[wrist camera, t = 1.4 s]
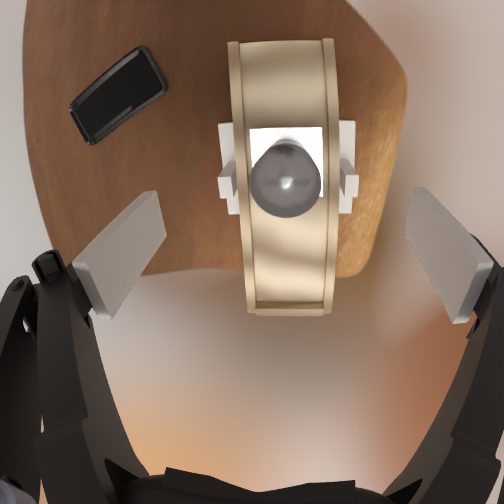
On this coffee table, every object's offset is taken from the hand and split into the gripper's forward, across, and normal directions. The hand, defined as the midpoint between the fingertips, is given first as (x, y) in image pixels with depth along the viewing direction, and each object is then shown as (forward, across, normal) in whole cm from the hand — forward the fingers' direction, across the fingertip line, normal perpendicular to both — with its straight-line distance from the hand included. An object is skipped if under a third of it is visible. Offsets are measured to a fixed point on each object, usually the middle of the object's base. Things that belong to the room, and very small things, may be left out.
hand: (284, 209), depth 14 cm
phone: (+22, -22, +8) cm, 32 cm away
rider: (+15, 0, -1) cm, 15 cm away
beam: (+18, 0, -4) cm, 19 cm away
